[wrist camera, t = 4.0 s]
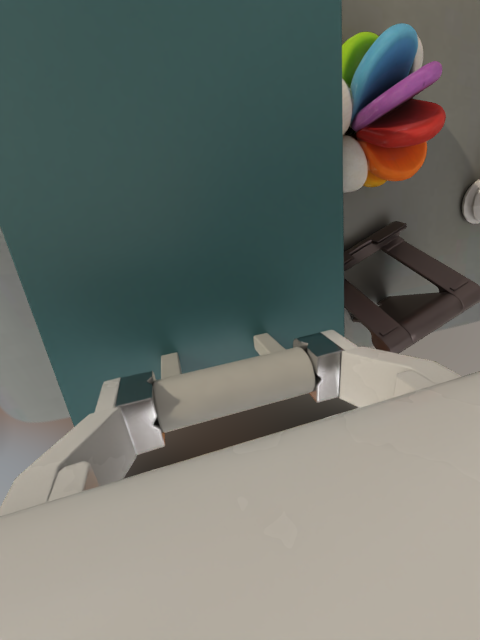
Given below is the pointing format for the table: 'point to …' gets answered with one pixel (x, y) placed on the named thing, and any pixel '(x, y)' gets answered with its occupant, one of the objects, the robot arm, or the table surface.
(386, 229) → the tablet stand
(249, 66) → the lid
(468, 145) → the table surface
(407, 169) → the multicoloured rounded lobed piece
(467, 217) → the rook chess piece
